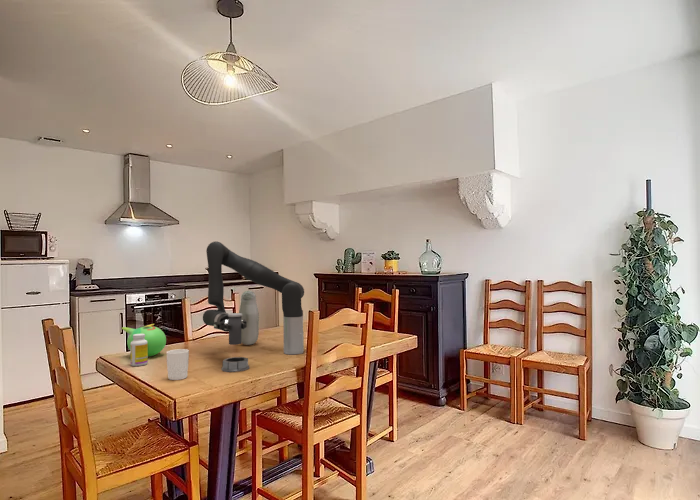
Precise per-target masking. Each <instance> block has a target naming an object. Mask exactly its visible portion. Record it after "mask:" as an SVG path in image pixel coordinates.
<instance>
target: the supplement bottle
mask: <svg viewBox="0 0 700 500" xmlns="http://www.w3.org/2000/svg"><path fill="white" fill-rule="evenodd" d="M144 338H145V334H134V335H133V341H132V342H131V343H130V350H129V351H130V353H129V354H130V357H129V358H130V366H131V367H141V366H145V365H147V364H148V361H149V359H148V342H147V340H145V339H144Z"/></svg>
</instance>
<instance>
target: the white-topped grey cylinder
mask: <svg viewBox="0 0 700 500" xmlns="http://www.w3.org/2000/svg"><path fill="white" fill-rule="evenodd" d="M241 316H242V313H239V312H234V313H233V312H232V313H228V317H229V324H230V325H231V330H229V332H228V345H230V346H231V345H232V346H235V345H237V346H238V345H241V344H242V342H241Z"/></svg>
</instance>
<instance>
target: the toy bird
mask: <svg viewBox="0 0 700 500" xmlns="http://www.w3.org/2000/svg"><path fill="white" fill-rule="evenodd" d="M154 325H155V323H151V324H148V325H143V326H142V325H141V326H140V327H137V328H133V327H132V328H131V327H128V326H127V327H126V326H124V327H123V326H122V327H121V329H122V330H123V332H125V333H127V334H129V335H128V337H127V340H126V342H127V343H126V344H127V348H128V350H129V351H130V343H131V342H132V341H133V335H134V334H145V338H144V339H145V340H147V342H148V357H153V356H155V355H157V354H160V353H161V352H162V351H163V350H164V349H165V347H166V344H167V336H166V334H165V332H164V331H163V330H162V329H161V328H159V327H157V326H154Z"/></svg>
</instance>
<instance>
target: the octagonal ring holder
mask: <svg viewBox="0 0 700 500" xmlns="http://www.w3.org/2000/svg"><path fill="white" fill-rule="evenodd" d="M249 369H250V365H249V358H248V357H243V356H232V357H228V358H225V359H223V360H222V367H221V371H222V372H224V373H225V372H226V373H239V372H240V373H241V372H244V371H248V370H249Z"/></svg>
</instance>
